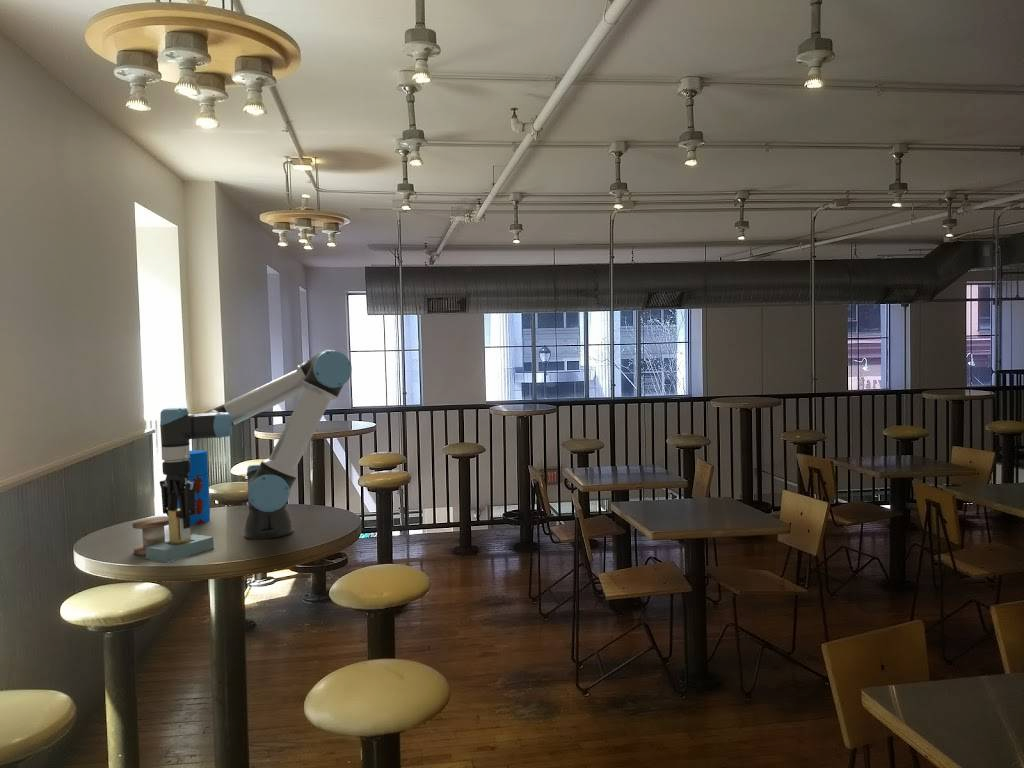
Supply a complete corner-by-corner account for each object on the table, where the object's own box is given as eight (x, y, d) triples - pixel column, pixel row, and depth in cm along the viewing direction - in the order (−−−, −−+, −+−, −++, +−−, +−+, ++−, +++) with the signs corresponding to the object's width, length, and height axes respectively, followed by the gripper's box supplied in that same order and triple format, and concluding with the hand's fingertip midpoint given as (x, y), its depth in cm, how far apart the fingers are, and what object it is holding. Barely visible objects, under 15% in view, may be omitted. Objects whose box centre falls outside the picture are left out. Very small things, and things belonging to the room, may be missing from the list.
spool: (182, 547, 215) (180, 518, 215) (148, 557, 206) (147, 526, 205) (159, 544, 220) (158, 515, 220) (125, 553, 211) (124, 522, 211)
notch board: (194, 545, 218) (193, 534, 218) (213, 548, 213) (213, 537, 213) (146, 558, 204) (145, 547, 204) (165, 562, 199) (165, 550, 199)
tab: (183, 546, 211) (181, 507, 211) (191, 548, 210) (189, 508, 209) (170, 550, 207) (168, 510, 207) (177, 552, 206) (175, 511, 205)
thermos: (215, 521, 251) (211, 451, 250) (183, 526, 244) (180, 455, 243) (203, 516, 259) (200, 449, 258) (173, 522, 252) (169, 452, 251)
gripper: (206, 459, 207) (210, 538, 208) (169, 457, 215) (172, 532, 216) (183, 463, 200) (187, 544, 201) (146, 460, 208) (150, 538, 209)
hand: (180, 538), depth 208 cm, fingers open, 4 cm apart
